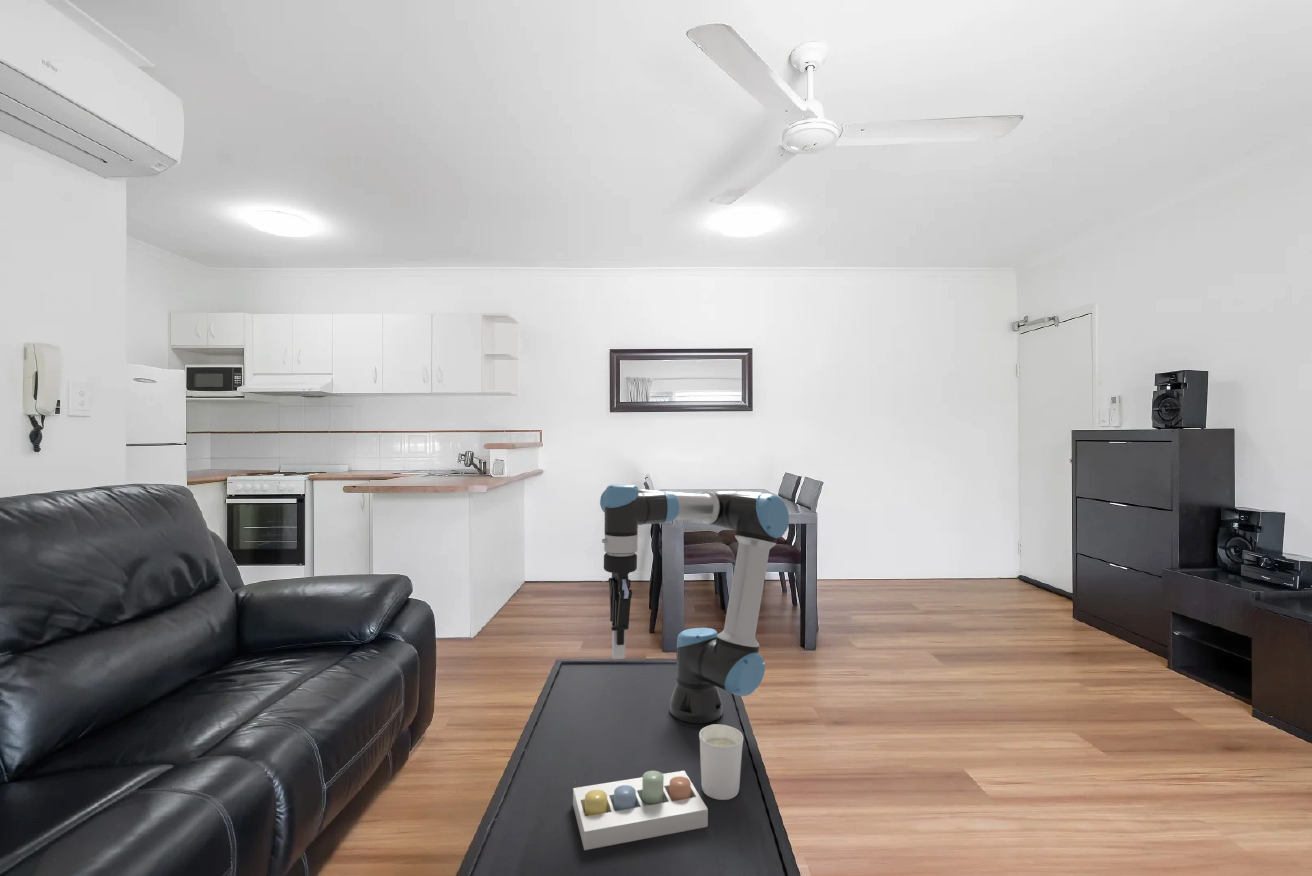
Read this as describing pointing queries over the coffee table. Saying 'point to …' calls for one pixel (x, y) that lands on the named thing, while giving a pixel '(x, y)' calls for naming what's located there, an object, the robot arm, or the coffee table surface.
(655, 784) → the pale green rounded piece
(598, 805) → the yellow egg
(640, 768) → the coffee table surface
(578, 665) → the coffee table surface
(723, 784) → the candle holder
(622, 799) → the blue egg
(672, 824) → the white slotted tray
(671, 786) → the orange rounded piece
